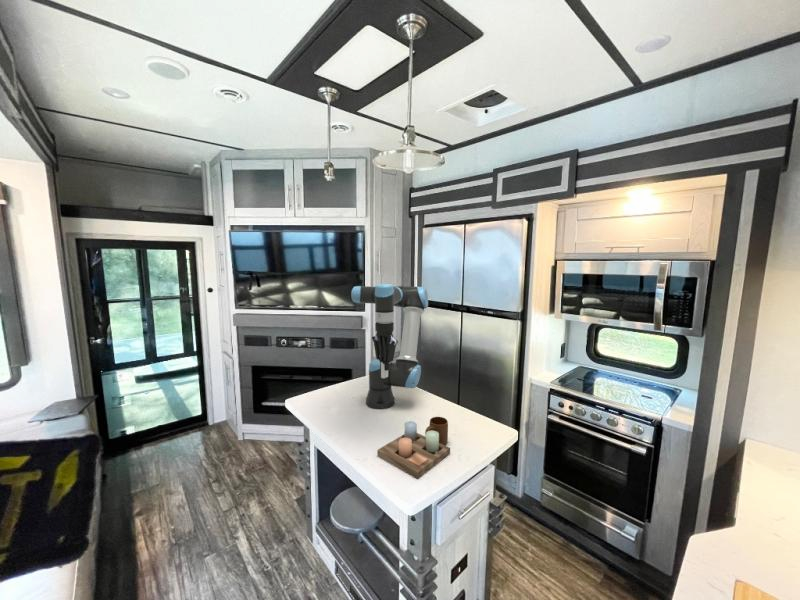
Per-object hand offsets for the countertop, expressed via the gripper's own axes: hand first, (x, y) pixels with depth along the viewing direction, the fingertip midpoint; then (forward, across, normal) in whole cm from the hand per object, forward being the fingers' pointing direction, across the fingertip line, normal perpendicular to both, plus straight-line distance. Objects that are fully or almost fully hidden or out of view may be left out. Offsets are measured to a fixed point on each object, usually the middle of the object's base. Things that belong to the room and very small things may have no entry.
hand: (384, 377), depth 137 cm
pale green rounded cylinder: (+24, +23, +3) cm, 33 cm away
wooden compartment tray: (+26, +18, -2) cm, 32 cm away
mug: (+27, +20, +9) cm, 34 cm away
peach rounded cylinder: (+25, +17, -6) cm, 31 cm away
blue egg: (+24, +12, +3) cm, 27 cm away
